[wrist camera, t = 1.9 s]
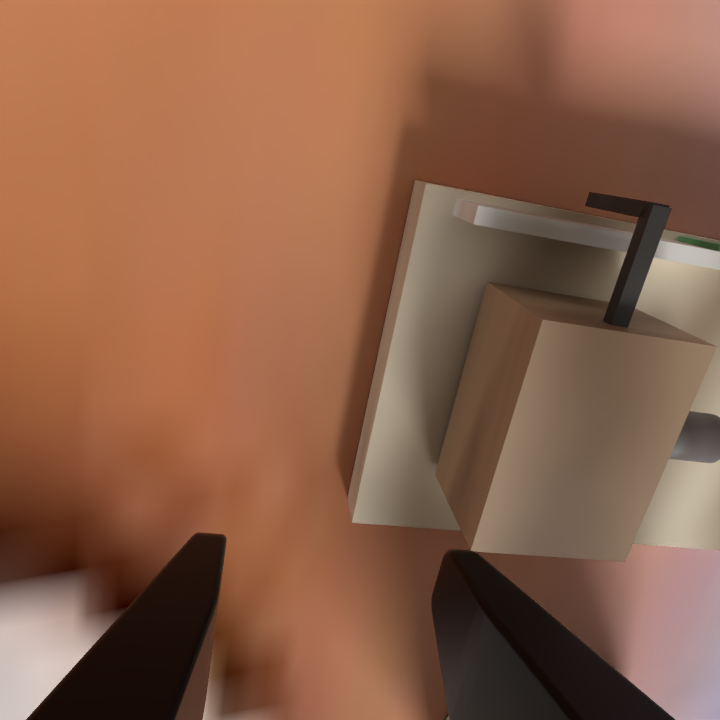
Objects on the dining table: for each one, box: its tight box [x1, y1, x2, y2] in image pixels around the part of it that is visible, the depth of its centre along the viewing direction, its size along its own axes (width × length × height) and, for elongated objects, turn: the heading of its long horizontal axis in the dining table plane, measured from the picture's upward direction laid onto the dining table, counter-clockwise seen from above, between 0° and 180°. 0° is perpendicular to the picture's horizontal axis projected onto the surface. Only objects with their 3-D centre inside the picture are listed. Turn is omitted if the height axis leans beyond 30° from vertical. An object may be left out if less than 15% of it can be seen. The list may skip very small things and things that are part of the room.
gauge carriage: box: [435, 192, 720, 562], centre depth 17 cm, size 8×10×4 cm
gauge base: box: [347, 180, 720, 550], centre depth 20 cm, size 22×12×5 cm, turn 79°
